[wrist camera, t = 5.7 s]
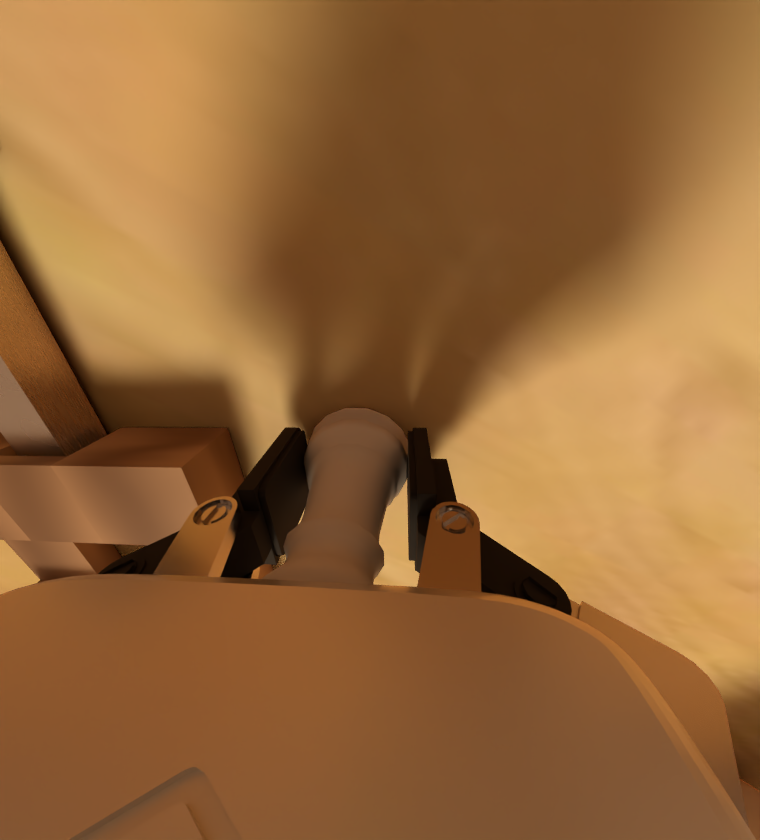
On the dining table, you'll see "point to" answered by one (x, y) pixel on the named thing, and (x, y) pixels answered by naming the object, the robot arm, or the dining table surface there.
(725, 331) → the dining table surface
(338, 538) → the rook chess piece
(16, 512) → the mount
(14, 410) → the lock pin
